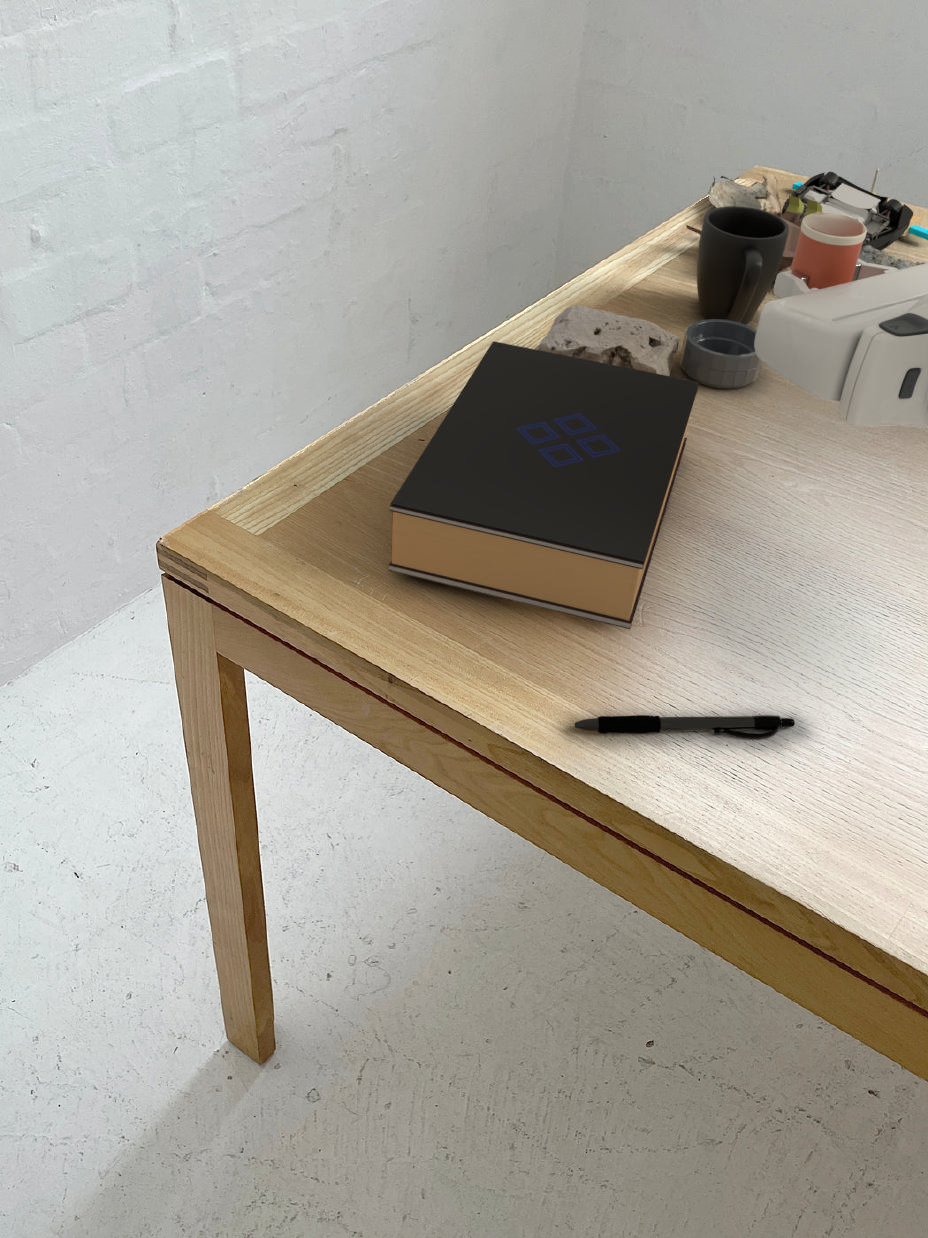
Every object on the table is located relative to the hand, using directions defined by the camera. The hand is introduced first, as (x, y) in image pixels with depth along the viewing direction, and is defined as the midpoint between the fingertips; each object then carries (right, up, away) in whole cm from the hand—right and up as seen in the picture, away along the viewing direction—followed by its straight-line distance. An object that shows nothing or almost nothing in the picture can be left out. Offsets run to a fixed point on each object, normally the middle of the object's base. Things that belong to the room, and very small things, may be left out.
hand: (810, 273), depth 83 cm
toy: (+14, +21, +42) cm, 49 cm away
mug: (+1, +4, +31) cm, 31 cm away
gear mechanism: (+18, +23, +50) cm, 58 cm away
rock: (+18, +7, +36) cm, 42 cm away
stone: (-13, -3, +21) cm, 25 cm away
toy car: (+18, +22, +46) cm, 54 cm away
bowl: (-2, -2, +23) cm, 23 cm away
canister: (0, -5, +3) cm, 6 cm away
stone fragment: (+7, +26, +50) cm, 57 cm away
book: (-19, -17, +5) cm, 26 cm away
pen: (-12, -32, -13) cm, 36 cm away
